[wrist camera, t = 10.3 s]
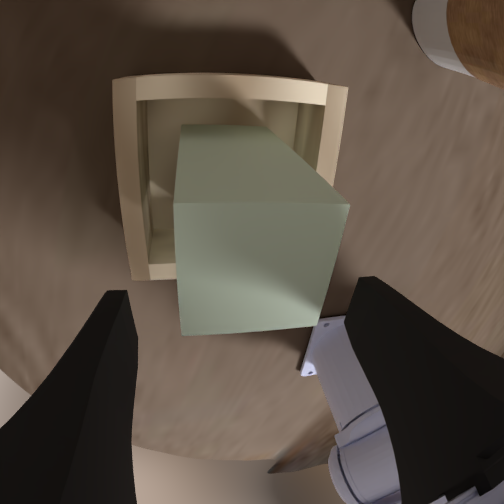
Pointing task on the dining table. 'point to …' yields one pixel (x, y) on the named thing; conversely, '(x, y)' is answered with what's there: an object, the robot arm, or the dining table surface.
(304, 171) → the sage block
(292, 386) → the dining table surface
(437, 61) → the coffee cup
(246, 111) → the open beige box
